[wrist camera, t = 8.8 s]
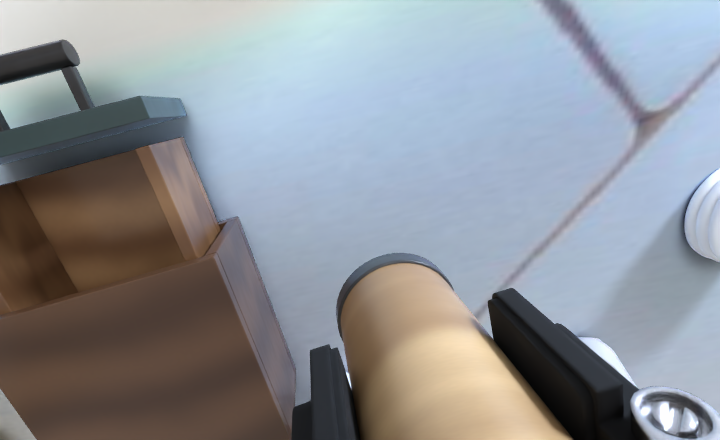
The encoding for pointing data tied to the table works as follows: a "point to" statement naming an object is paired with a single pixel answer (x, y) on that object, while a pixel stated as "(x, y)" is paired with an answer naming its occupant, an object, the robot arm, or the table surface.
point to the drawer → (94, 194)
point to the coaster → (705, 218)
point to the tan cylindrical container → (430, 361)
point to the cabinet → (155, 355)
